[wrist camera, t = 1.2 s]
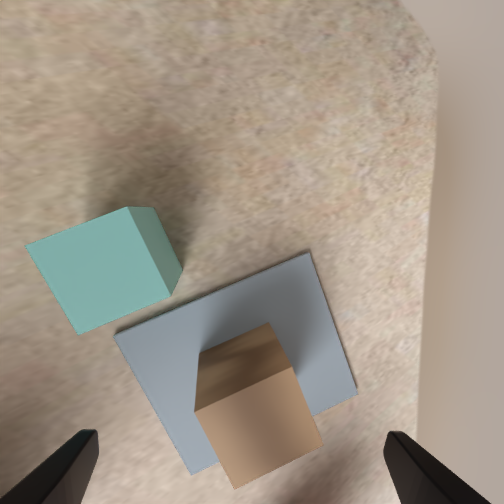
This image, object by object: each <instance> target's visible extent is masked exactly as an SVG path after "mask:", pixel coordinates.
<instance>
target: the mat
mask: <svg viewBox="0 0 504 504" xmlns="http://www.w3.org/2000/svg"><path fill="white" fill-rule="evenodd" d="M268 322H269V323H270V325H271V327H272V329H273V331H274V333H275V335H276V337H277V339H278V341H279V342H280V344H281V346H282V348H283V350H284V352H285V354H286V356H287V358H288V360H289V362H290V364H291V366H292V368H293V370H294V373H295V375H296V378H297V380H298V383H299V385H300V388H301V390H302V393H303V395H304V398H305V400H306V403H307V405H308V407H309V410H310V412H311V415H312V416H314V415H316V414H318V413H320V412H322V411H324V410H327V409H329V408H331V407H333V406H335V405H337V404H339V403H341V402H343V401H345V400H347V399H349V398H351V397H353V396H355V395H357V394H358V392H357V389H356V386H355V383H354V381H353V378H352V375H351V372H350V369H349V366H348V363H347V360H346V357H345V355H344V352H343V349H342V346H341V343H340V340H339V337H338V334H337V331H336V329H335V326H334V323H333V320H332V317H331V314H330V311H329V308H328V305H327V303H326V300H325V297H324V294H323V291H322V288H321V285H320V282H319V279H318V277H317V274H316V271H315V268H314V265H313V262H312V259H311V256H310V253H309V252H306V253H304V254H302V255H299V256H297V257H295V258H292V259H290V260H288V261H285V262H283V263H281V264H278V265H276V266H273V267H271V268H269V269H266V270H264V271H262V272H259V273H257V274H255V275H252V276H250V277H248V278H245V279H243V280H241V281H238V282H236V283H234V284H231V285H229V286H227V287H224V288H222V289H220V290H217V291H215V292H213V293H210V294H208V295H206V296H203V297H201V298H199V299H196V300H194V301H191V302H189V303H187V304H184V305H182V306H180V307H177V308H175V309H173V310H170V311H168V312H166V313H163V314H161V315H159V316H156V317H154V318H152V319H149V320H147V321H145V322H142V323H140V324H138V325H135V326H133V327H131V328H128V329H126V330H124V331H121V332H119V333H116V334H115V335H114V336H113V338H114V339H115V341H116V343H117V345H118V346H119V348H120V350H121V352H122V354H123V355H124V357H125V359H126V361H127V362H128V364H129V366H130V368H131V370H132V371H133V373H134V375H135V377H136V378H137V380H138V382H139V384H140V385H141V387H142V389H143V391H144V393H145V394H146V396H147V398H148V400H149V401H150V403H151V405H152V407H153V409H154V410H155V412H156V414H157V416H158V417H159V419H160V421H161V423H162V425H163V426H164V428H165V430H166V432H167V433H168V435H169V437H170V439H171V440H172V442H173V444H174V446H175V448H176V449H177V451H178V453H179V455H180V456H181V458H182V460H183V462H184V464H185V465H186V467H187V469H188V471H189V472H190V474H191V475H193V474H195V473H198V472H200V471H202V470H204V469H206V468H208V467H210V466H212V465H214V464H216V463H218V462H220V461H219V459H218V457H217V455H216V453H215V451H214V449H213V447H212V445H211V444H210V442H209V440H208V438H207V436H206V434H205V432H204V430H203V428H202V426H201V424H200V423H199V421H198V419H197V417H196V415H195V413H194V407H195V395H196V383H197V370H198V358H199V353H201V352H203V351H205V350H207V349H210V348H212V347H214V346H216V345H219V344H221V343H223V342H225V341H228V340H230V339H232V338H234V337H237V336H239V335H241V334H243V333H245V332H248V331H250V330H252V329H254V328H257V327H259V326H261V325H263V324H266V323H268Z"/></svg>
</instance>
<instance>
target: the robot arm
mask: <svg viewBox="0 0 504 504" xmlns="http://www.w3.org/2000/svg"><path fill="white" fill-rule="evenodd" d="M383 453H384V459H385V462H386V464H387V467H388V470H389V472H390V475H391V478H392V480H393V483H394V486H395V488H396V491H397V494H398V496H399V499H400V502H401V504H491V503H490V502H489V501H487V500H486V499H485V498H484V497H482V496H481V495H480V494H479V493H478V492H476V491H475V490H474V489H473V488H471V487H470V486H469V485H468V484H467V483H465V482H464V481H463V480H462V479H460V478H459V477H458V476H457V475H456V474H454V473H453V472H452V471H451V470H449V469H448V468H447V467H446V466H445V465H443V464H442V463H441V462H440V461H438V460H437V459H436V458H435V457H434V456H432V455H431V454H430V453H429V452H427V451H426V450H425V449H424V448H422V447H421V446H420V445H419V444H418V443H416V442H415V441H414V440H413V439H412V438H410V437H409V436H408V435H407V434H405V433H404V432H402V431H390V432H388V435H387V438H386V442H385V446H384V450H383ZM98 455H99V444H98V433H97V430H95V429H83V430H81V431H79V432H78V433H76V434H75V435H74V436H73V437H72V438H71V439H69V440H68V441H67V442H66V443H65V444H64V445H62V446H61V447H60V448H59V449H58V450H56V451H55V452H54V453H53V454H52V455H51V456H49V457H48V458H47V459H46V460H45V461H44V462H42V463H41V464H40V465H39V466H38V467H36V468H35V469H34V470H33V471H32V472H31V473H29V474H28V475H27V476H26V477H25V478H24V479H22V480H21V481H20V482H19V483H18V484H16V485H15V486H14V487H13V488H12V489H11V490H9V491H8V492H7V493H6V494H5V495H4V496H2V497H1V498H0V504H81V502H82V499H83V496H84V494H85V491H86V488H87V486H88V483H89V481H90V478H91V475H92V473H93V470H94V467H95V465H96V462H97V459H98Z"/></svg>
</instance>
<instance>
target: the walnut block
mask: <svg viewBox="0 0 504 504" xmlns="http://www.w3.org/2000/svg"><path fill="white" fill-rule="evenodd" d="M194 413H195V415H196V417H197V419H198V421H199V423H200V424H201V426H202V428H203V430H204V432H205V434H206V436H207V438H208V440H209V442H210V444H211V445H212V447H213V449H214V451H215V453H216V455H217V457H218V459H219V461H220V463H221V465H222V467H223V468H224V470H225V472H226V474H227V476H228V478H229V480H230V482H231V484H232V486H233V488H234V489H237V488H239V487H241V486H243V485H245V484H247V483H249V482H251V481H253V480H255V479H257V478H259V477H261V476H263V475H265V474H267V473H269V472H271V471H273V470H275V469H277V468H279V467H281V466H283V465H285V464H287V463H289V462H291V461H293V460H295V459H297V458H299V457H301V456H303V455H305V454H307V453H309V452H311V451H313V450H315V449H317V448H319V447H321V446H323V442H322V440H321V437H320V435H319V432H318V430H317V427H316V425H315V422H314V420H313V417H312V415H311V412H310V410H309V407H308V405H307V403H306V400H305V398H304V395H303V393H302V390H301V388H300V385H299V383H298V380H297V378H296V375H295V373H294V370H293V368H292V366H291V364H290V362H289V360H288V358H287V356H286V354H285V352H284V350H283V348H282V346H281V344H280V342H279V341H278V339H277V337H276V335H275V333H274V331H273V329H272V327H271V325H270V323H269V322H268V323H266V324H263V325H261V326H259V327H257V328H254V329H252V330H250V331H248V332H245V333H243V334H241V335H239V336H237V337H234V338H232V339H230V340H228V341H225V342H223V343H221V344H219V345H216V346H214V347H212V348H210V349H207V350H205V351H203V352H201V353H199V358H198V370H197V383H196V395H195V407H194Z"/></svg>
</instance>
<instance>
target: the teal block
mask: <svg viewBox="0 0 504 504" xmlns="http://www.w3.org/2000/svg"><path fill="white" fill-rule="evenodd" d="M25 247H26V249H27V251H28V253H29V254H30V256H31V258H32V259H33V261H34V263H35V264H36V266H37V268H38V269H39V271H40V273H41V274H42V276H43V278H44V279H45V281H46V283H47V284H48V286H49V288H50V289H51V291H52V293H53V294H54V296H55V298H56V299H57V301H58V303H59V304H60V306H61V308H62V309H63V311H64V313H65V314H66V316H67V318H68V320H69V321H70V323H71V325H72V326H73V328H74V330H75V331H76V333H77V335H80V334H83V333H85V332H87V331H90V330H92V329H95V328H97V327H99V326H102V325H104V324H106V323H109V322H111V321H113V320H116V319H118V318H121V317H123V316H125V315H128V314H130V313H132V312H135V311H137V310H140V309H142V308H144V307H147V306H149V305H151V304H154V303H156V302H158V301H161V300H163V299H166V298H168V297H170V296H171V295H172V293H173V291H174V288H175V286H176V284H177V282H178V280H179V278H180V275H181V273H182V271H183V269H182V267H181V265H180V263H179V261H178V259H177V256H176V254H175V252H174V250H173V248H172V246H171V244H170V241H169V239H168V237H167V235H166V233H165V231H164V229H163V226H162V224H161V222H160V220H159V218H158V216H157V214H156V211H155V209H154V207H132V206H126V207H124V208H121V209H119V210H116V211H113V212H111V213H108V214H106V215H103V216H100V217H98V218H95V219H93V220H90V221H87V222H85V223H82V224H80V225H77V226H74V227H72V228H69V229H67V230H64V231H61V232H59V233H56V234H54V235H51V236H48V237H46V238H43V239H41V240H38V241H35V242H33V243H30V244H28V245H25Z"/></svg>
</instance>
